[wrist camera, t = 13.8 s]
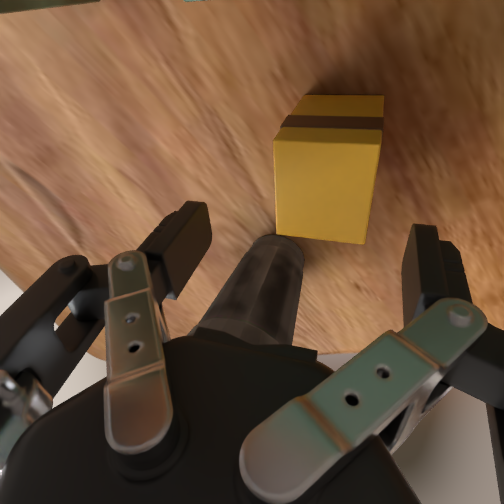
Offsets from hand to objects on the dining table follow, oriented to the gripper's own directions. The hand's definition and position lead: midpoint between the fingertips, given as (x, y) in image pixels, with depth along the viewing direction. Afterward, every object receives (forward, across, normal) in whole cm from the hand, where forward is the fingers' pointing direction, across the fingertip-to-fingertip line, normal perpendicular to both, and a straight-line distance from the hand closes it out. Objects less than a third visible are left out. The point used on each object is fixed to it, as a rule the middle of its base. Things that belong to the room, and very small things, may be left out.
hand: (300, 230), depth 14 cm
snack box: (+10, 0, 0) cm, 10 cm away
